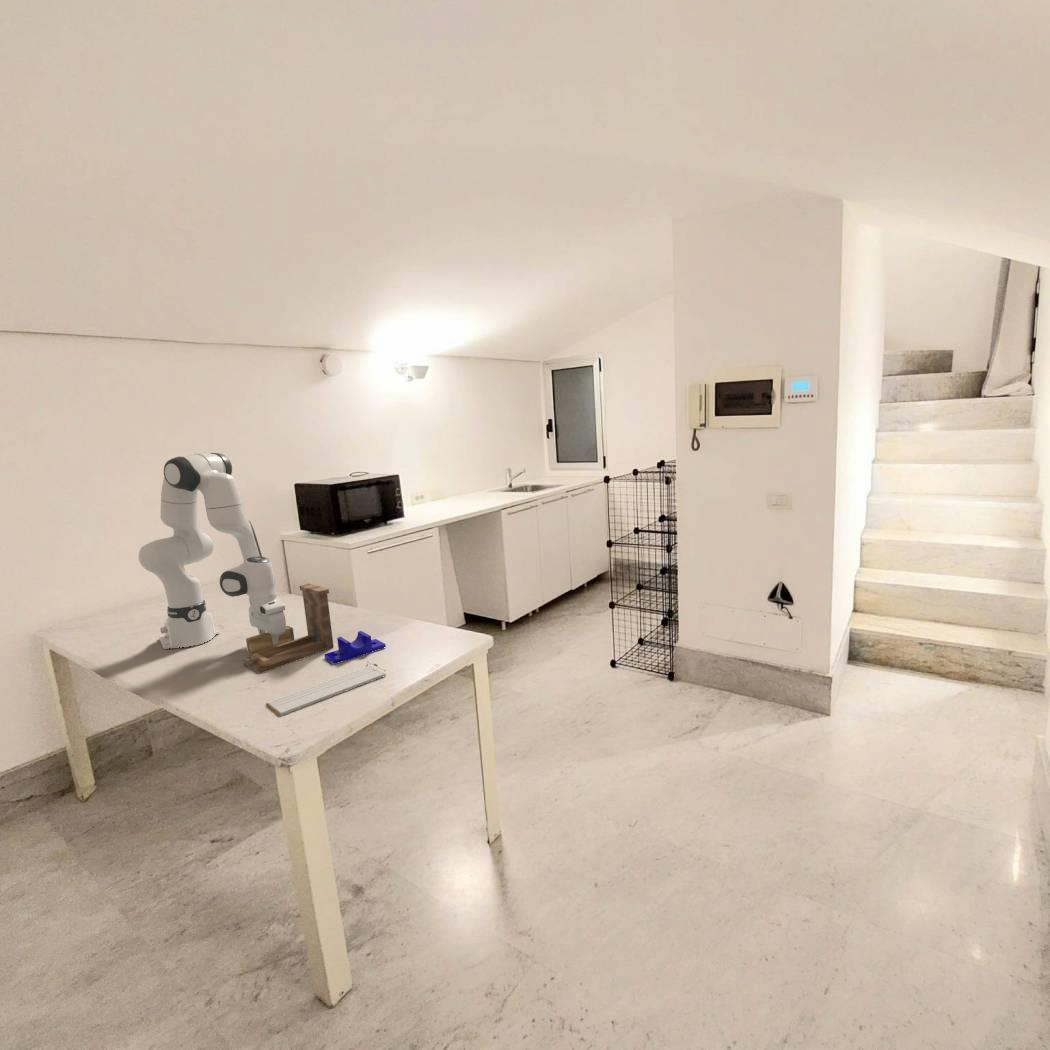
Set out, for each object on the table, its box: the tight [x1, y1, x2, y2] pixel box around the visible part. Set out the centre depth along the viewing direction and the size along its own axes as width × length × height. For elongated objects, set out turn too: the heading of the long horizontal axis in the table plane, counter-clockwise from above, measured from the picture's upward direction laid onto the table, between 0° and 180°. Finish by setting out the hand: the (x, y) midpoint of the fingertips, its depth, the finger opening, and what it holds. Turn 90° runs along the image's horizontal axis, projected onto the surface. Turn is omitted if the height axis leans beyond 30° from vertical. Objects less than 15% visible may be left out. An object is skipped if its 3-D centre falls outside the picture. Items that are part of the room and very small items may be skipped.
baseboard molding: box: [265, 661, 387, 717], centre depth 170 cm, size 31×3×12 cm
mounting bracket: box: [323, 630, 387, 665], centre depth 196 cm, size 18×7×6 cm, turn 130°
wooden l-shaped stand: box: [243, 583, 335, 674], centre depth 196 cm, size 13×26×20 cm, turn 138°
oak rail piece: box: [245, 625, 295, 654], centre depth 206 cm, size 4×15×5 cm, turn 138°
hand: (269, 642), depth 206 cm, fingers open, 7 cm apart
